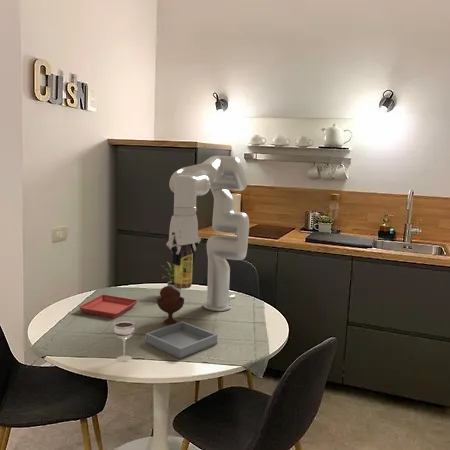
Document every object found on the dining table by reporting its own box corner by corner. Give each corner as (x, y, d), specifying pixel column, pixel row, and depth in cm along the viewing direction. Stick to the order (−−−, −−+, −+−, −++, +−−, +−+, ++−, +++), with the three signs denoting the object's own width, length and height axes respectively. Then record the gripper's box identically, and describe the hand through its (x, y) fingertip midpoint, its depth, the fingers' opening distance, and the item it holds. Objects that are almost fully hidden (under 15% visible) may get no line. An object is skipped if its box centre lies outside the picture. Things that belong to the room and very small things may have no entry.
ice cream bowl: (179, 328, 186) (180, 291, 184) (152, 325, 189) (152, 288, 186) (187, 319, 197) (188, 283, 194) (161, 316, 199) (161, 280, 196)
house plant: (150, 294, 227) (151, 260, 225) (174, 289, 236) (175, 256, 234) (169, 302, 217) (169, 266, 214) (193, 296, 226) (194, 262, 224)
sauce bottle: (184, 290, 165) (185, 233, 162) (170, 287, 168) (170, 231, 165) (195, 286, 171) (197, 230, 167) (181, 282, 174) (182, 228, 170)
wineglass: (138, 360, 158) (138, 325, 156) (118, 364, 154) (118, 329, 152) (129, 352, 164) (129, 318, 162) (110, 356, 160) (110, 322, 158)
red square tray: (116, 321, 193) (116, 313, 192) (77, 314, 198) (77, 306, 198) (138, 307, 210) (138, 300, 209) (102, 301, 215) (102, 294, 215)
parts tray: (182, 329, 185) (182, 321, 185) (217, 343, 174) (217, 334, 173) (145, 343, 172) (145, 333, 171) (180, 359, 160) (180, 349, 160)
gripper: (195, 208, 174) (193, 257, 177) (158, 212, 161) (157, 265, 164) (210, 211, 169) (208, 261, 172) (173, 215, 156) (172, 269, 159)
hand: (183, 262), depth 168 cm, fingers closed on sauce bottle, 6 cm apart
